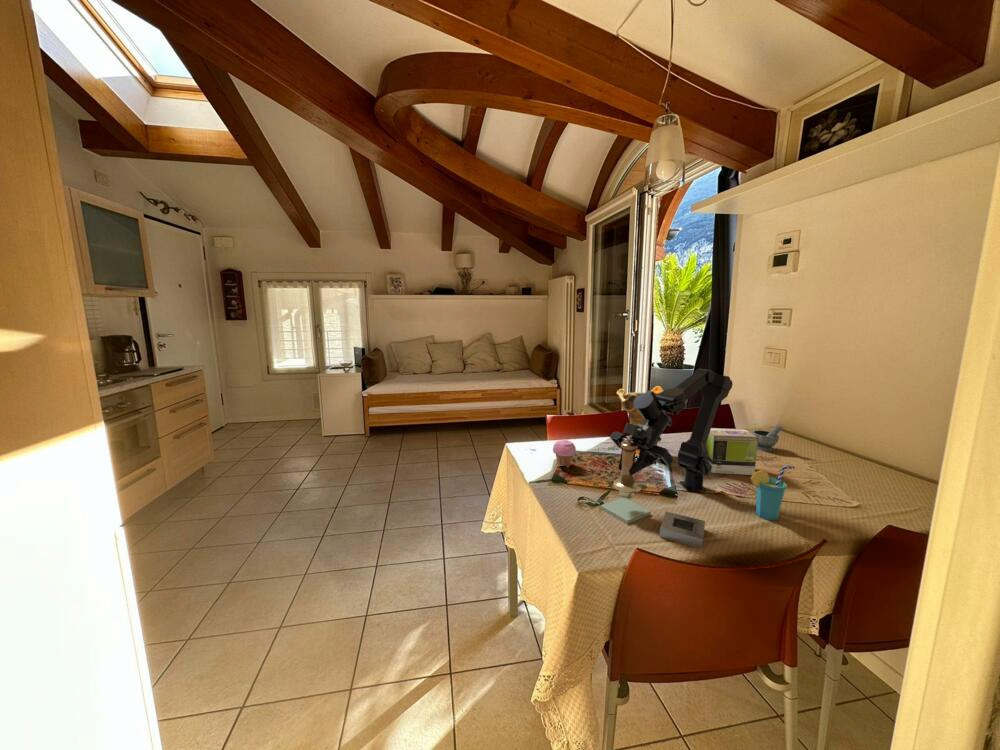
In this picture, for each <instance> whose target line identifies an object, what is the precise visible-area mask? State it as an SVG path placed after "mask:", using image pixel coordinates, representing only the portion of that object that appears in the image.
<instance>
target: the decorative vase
mask: <svg viewBox="0 0 1000 750" xmlns="http://www.w3.org/2000/svg"><path fill="white" fill-rule="evenodd" d="M650 391H653V392H654V393H655V396H657V395H658V394H659V393H660V392H663V391H665V389H663V388H662V386H660V385H657V386H654V387H653V388H652V389H651V390H650ZM643 393H646V391H645V392H643V391H642V392H640V391H639V392H635V391H634V392H633V391H632V392H626V390H625V389H624V388H619V389H617V391H616V395H617V396H618V398H619V402H620V405H621V407H622V410H623V411H625V412H628V414H629V415H628V416H629V417H628V418H629V423H631V424H634V425H637V426H638V425H639V424H642V425H643V424H644V422H645V421H646V419H644V418H643V417H642V416H641V414H640V413H639V412H638V410H637V409H636V408H635V406H634V404H633V402H634V399H635V398H636V397H637V396H639V395H640V394H643ZM665 413H666V414H667V412H665ZM629 436H630V435H629V434H628V439H629V440H631V441H633V439H631V438H630V437H629ZM658 443H659V441H657V442H656V443H655V445H657V446H658ZM639 453H640V451H639V450H636V454H638V455H639Z"/></svg>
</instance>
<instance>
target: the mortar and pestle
mask: <svg viewBox="0 0 1000 750" xmlns="http://www.w3.org/2000/svg"><path fill="white" fill-rule="evenodd" d="M783 429H784V428H783V426H781V425H780V424H775V426H774V427H773V428H772V430H762V429H761V430H760V429H756V430H755V429H754V430H752V431H751V433H752V434H754V435H755V436H757V437H758V444H757V451H762V452H772V451H773V447H775V445H777V443H778V441H779V439H780V435H779V433H780V432H781V431H783Z"/></svg>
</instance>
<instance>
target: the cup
mask: <svg viewBox="0 0 1000 750" xmlns="http://www.w3.org/2000/svg"><path fill="white" fill-rule="evenodd" d="M786 469H789V470H794V469H795V466H793V465H784V466H783V467H781V469H780V471H779V474H778V478H775V477H772V476H770V475H769V473H768V472H766V471H764V470H762V469H760V470H757V471H755V472H754V474H753V475H751V477H750V482H751V484H752V486H754V487H756V489H755V490H756V491H755V492H756V494H755V497H756V498H755V500H756V501H755V515H756V516H758V517H759V518H761V519H764V520H766V521H774V522H775V521H777V520H778V518H779V515H780V510H781V507H782V503H783V499H784V496H785V492H786V489H787V488H788V484H787V483H786V482H784V481H783V480H782V478H783V476H784V474H785V472H786Z"/></svg>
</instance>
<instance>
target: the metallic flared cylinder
mask: <svg viewBox="0 0 1000 750" xmlns="http://www.w3.org/2000/svg"><path fill="white" fill-rule="evenodd" d="M621 448H623V453H622V470H620V471H621V474H620V478H616V479H614V480H613V488H614V489H615V490H617V491H618V493H619V497H620V498H626V499H628V500H630V499H633V498H634V497H635V493H639V492H640V491H642V490H641V489H642V484H641V483H640V482H639V481H637V480H636V479H635V474H633V475H630V474H629V472H630V470H631V468H632V467H633V465H634V463H635V462H636V458H635V457H636V450H637V449H638V444H637V443H634V442H622V443H621ZM621 448H620V449H621Z"/></svg>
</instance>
